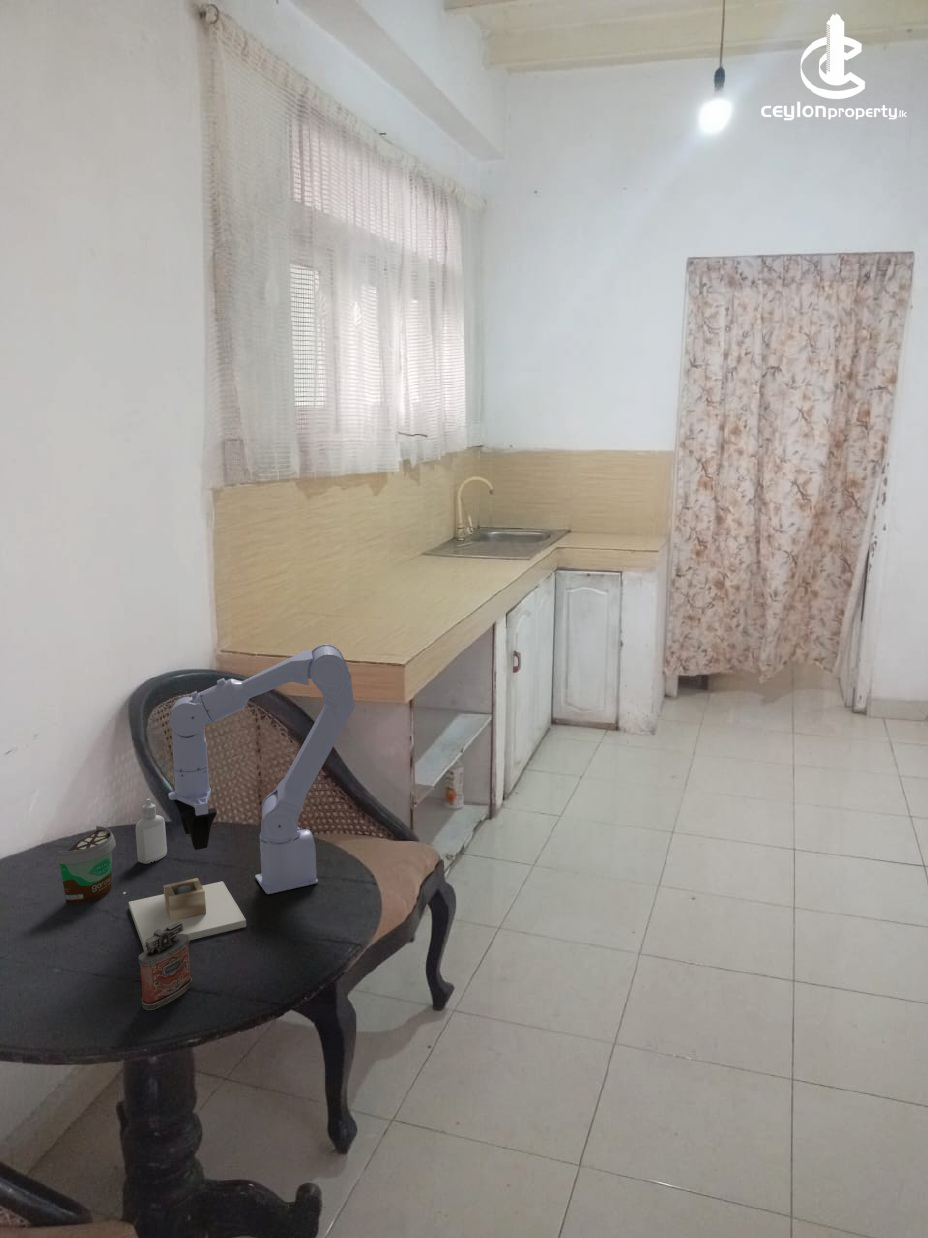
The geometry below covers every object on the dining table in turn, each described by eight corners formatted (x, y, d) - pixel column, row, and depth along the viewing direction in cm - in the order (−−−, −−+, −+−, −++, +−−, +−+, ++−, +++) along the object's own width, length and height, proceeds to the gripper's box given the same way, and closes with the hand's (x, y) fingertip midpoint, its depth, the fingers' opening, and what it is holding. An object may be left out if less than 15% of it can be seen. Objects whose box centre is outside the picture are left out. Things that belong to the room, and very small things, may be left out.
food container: (93, 910, 158) (88, 855, 156) (61, 907, 159) (55, 852, 157) (132, 878, 170) (128, 827, 168) (102, 876, 171) (98, 824, 169)
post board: (223, 887, 165) (221, 860, 165) (246, 926, 152) (244, 897, 151) (129, 908, 158) (126, 880, 157) (144, 951, 144) (142, 920, 143)
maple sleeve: (198, 900, 158) (197, 878, 158) (206, 913, 153) (204, 891, 153) (165, 907, 156) (163, 885, 155) (171, 922, 151) (169, 899, 150)
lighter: (152, 1013, 128) (147, 946, 126) (136, 1005, 130) (131, 939, 128) (197, 985, 135) (193, 921, 133) (181, 978, 137) (177, 915, 135)
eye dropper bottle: (170, 859, 177) (165, 800, 175) (139, 866, 175) (134, 805, 173) (165, 851, 181) (161, 793, 179) (135, 857, 179) (130, 798, 176)
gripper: (159, 758, 165) (164, 830, 167) (175, 783, 152) (180, 860, 155) (199, 752, 168) (204, 823, 171) (218, 776, 156) (223, 852, 158)
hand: (195, 840), depth 163 cm, fingers open, 7 cm apart
